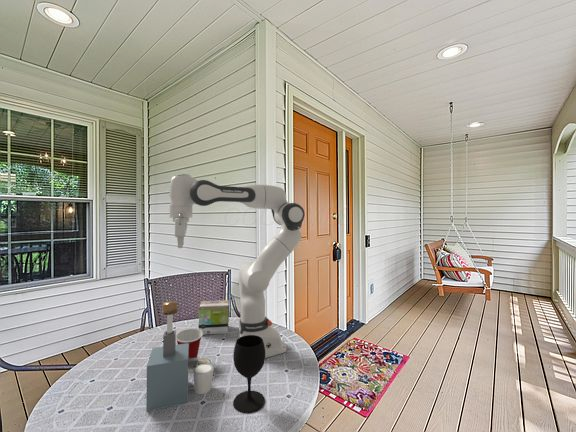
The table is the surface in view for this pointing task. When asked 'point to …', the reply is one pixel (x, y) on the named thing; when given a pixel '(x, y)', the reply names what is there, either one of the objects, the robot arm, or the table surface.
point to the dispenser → (168, 374)
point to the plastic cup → (190, 340)
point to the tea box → (214, 317)
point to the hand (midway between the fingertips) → (180, 246)
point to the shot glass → (203, 378)
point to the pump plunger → (169, 313)
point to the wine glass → (249, 371)
